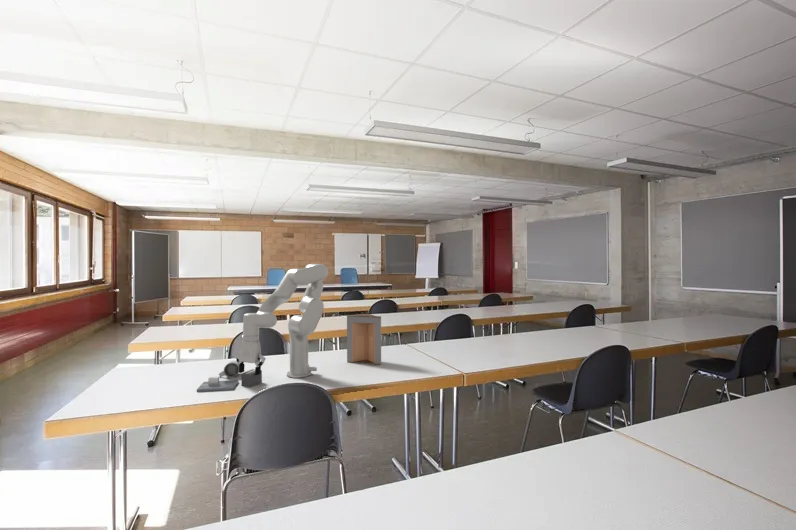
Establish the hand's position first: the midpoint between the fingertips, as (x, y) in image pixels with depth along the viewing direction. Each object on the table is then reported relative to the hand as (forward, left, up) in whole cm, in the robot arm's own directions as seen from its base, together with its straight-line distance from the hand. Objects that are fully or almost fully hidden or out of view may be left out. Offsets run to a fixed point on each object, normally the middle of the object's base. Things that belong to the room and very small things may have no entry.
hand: (249, 373), depth 201 cm
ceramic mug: (+13, -18, -6) cm, 22 cm away
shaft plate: (+14, +1, -5) cm, 15 cm away
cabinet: (-61, -34, -6) cm, 70 cm away
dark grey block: (-1, -1, -5) cm, 5 cm away
